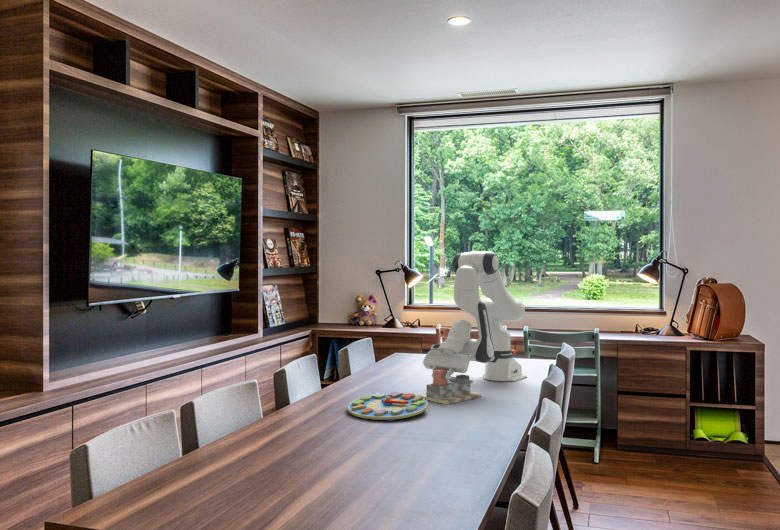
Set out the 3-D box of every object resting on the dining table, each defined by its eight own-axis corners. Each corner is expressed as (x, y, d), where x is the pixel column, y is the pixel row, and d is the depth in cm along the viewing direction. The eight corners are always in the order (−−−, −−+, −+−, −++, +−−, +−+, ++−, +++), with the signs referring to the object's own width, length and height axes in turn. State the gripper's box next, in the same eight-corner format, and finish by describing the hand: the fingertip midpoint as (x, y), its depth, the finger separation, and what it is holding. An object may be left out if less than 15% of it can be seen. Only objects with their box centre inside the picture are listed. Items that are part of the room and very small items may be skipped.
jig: (453, 390, 280) (453, 372, 280) (481, 396, 268) (481, 377, 268) (418, 397, 265) (418, 378, 265) (446, 404, 253) (446, 384, 253)
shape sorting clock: (331, 412, 241) (331, 397, 241) (385, 399, 263) (386, 385, 263) (390, 427, 220) (390, 410, 220) (444, 412, 242) (444, 396, 242)
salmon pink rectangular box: (440, 390, 266) (440, 368, 266) (447, 391, 263) (447, 369, 263) (432, 391, 261) (433, 370, 261) (439, 393, 259) (440, 371, 259)
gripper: (475, 358, 265) (464, 385, 258) (434, 353, 277) (421, 379, 269) (470, 348, 262) (458, 376, 254) (428, 344, 274) (416, 370, 266)
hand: (439, 377), depth 262 cm, fingers open, 4 cm apart
